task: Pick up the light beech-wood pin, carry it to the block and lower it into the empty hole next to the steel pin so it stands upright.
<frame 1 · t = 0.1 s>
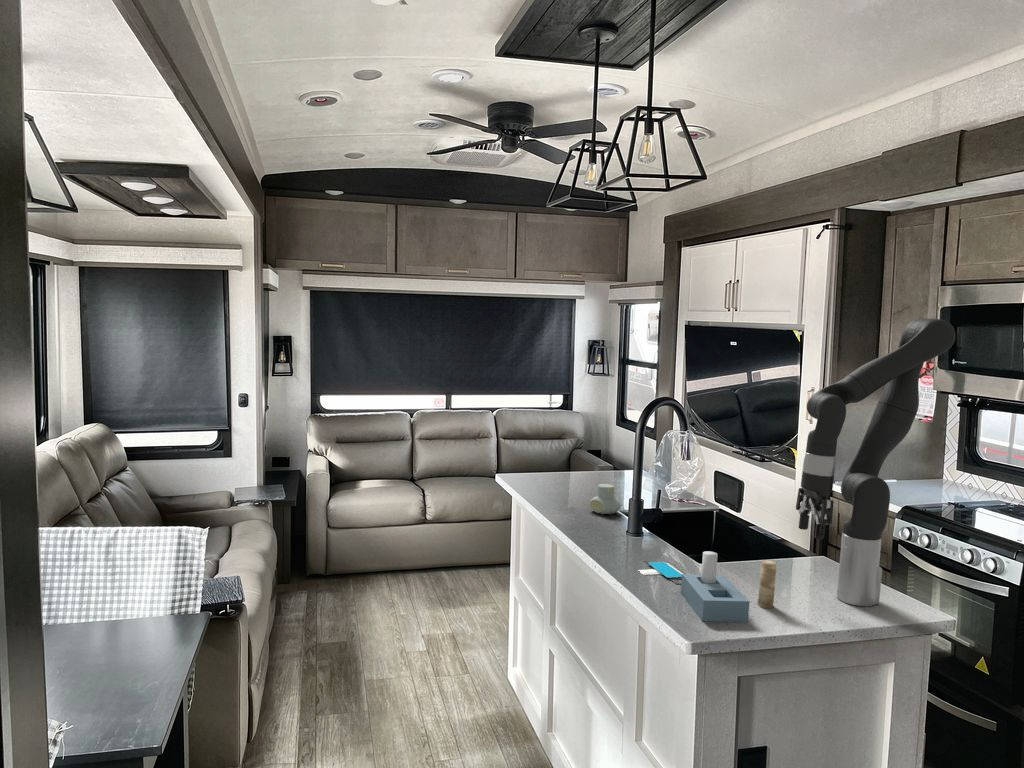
hand: (810, 533, 193), 17 cm above the counter, fingers open, 8 cm apart
bore block: (712, 606, 187), on the counter
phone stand: (659, 574, 211), on the counter
pale green pipe fitting: (604, 513, 272), on the counter
beech pin: (765, 605, 189), on the counter
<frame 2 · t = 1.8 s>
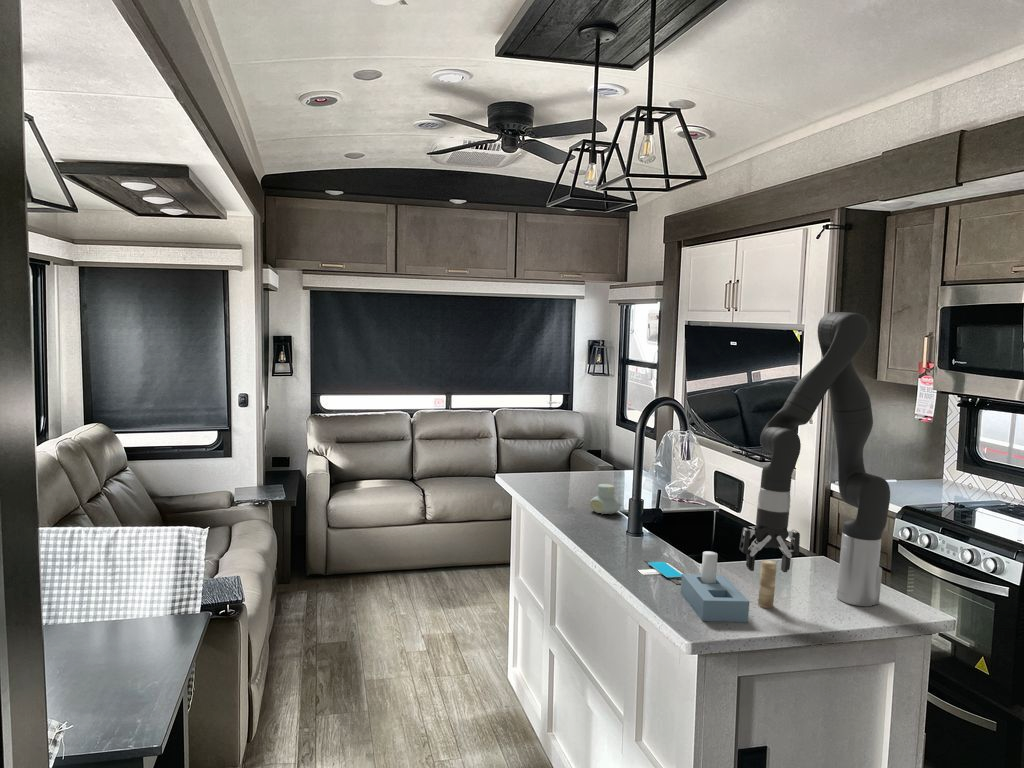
hand: (767, 570, 188), 9 cm above the counter, fingers open, 8 cm apart
nothing on the counter moved.
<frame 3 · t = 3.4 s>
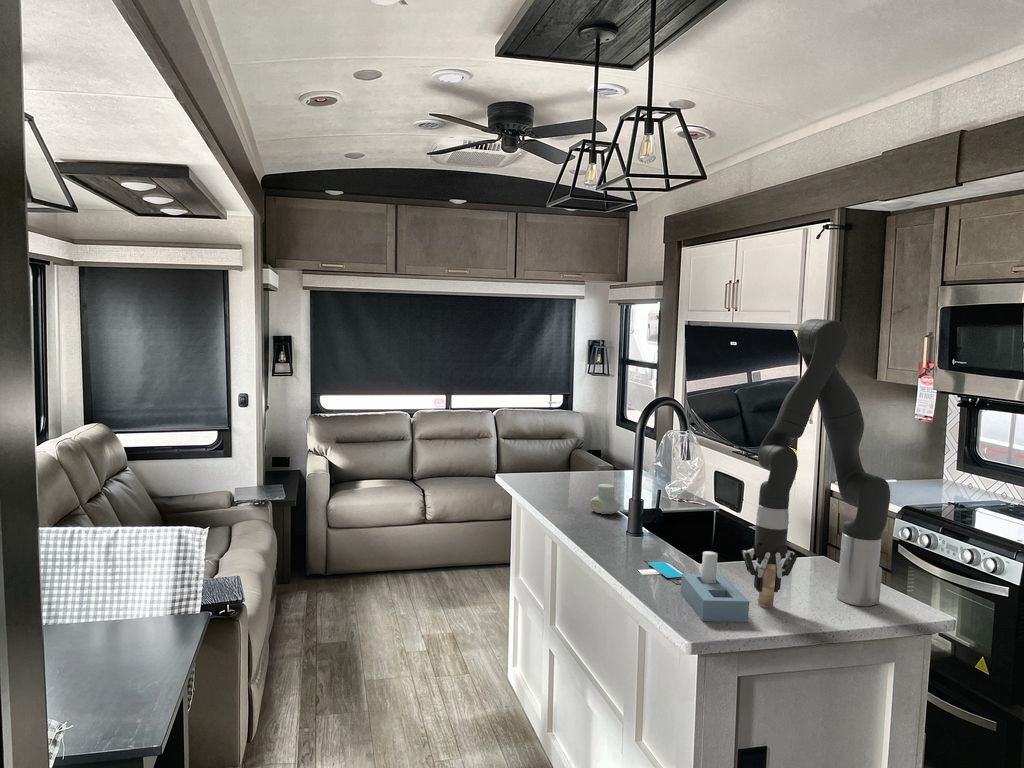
hand: (766, 590, 189), 4 cm above the counter, fingers closed on beech pin, 3 cm apart
beech pin: (765, 605, 189), on the counter, touching gripper
everything else where it was.
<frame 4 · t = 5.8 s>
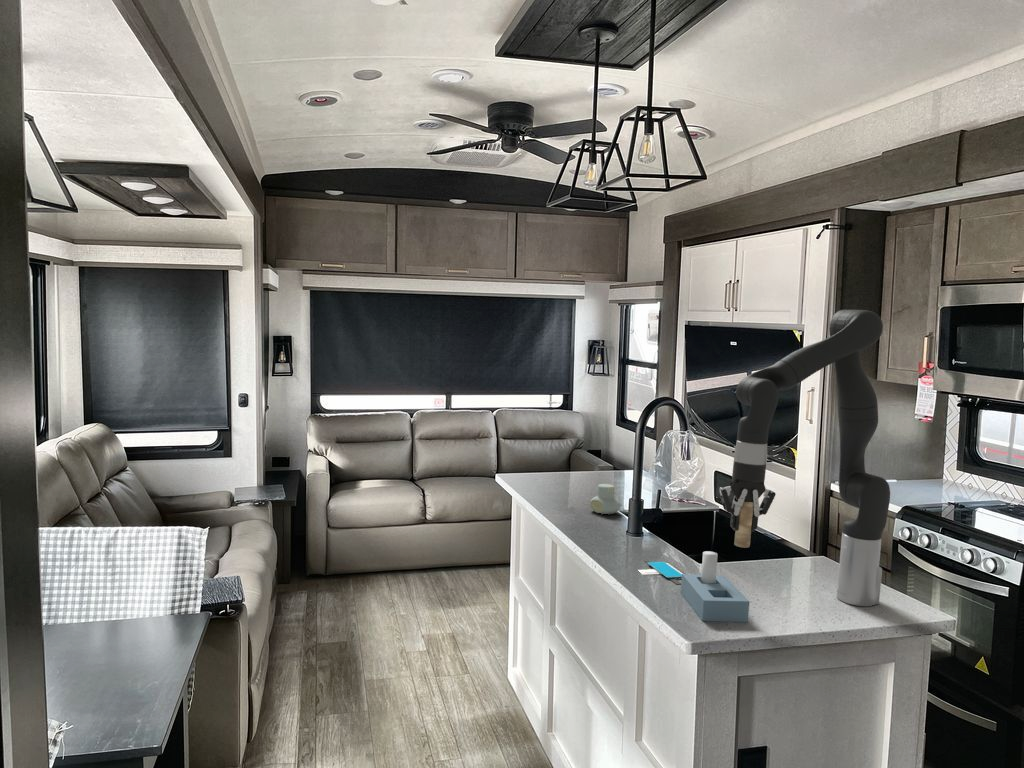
hand: (743, 529, 184), 20 cm above the counter, fingers closed on beech pin, 3 cm apart
beech pin: (741, 545, 184), point 16 cm above the counter, touching gripper
everything else where it was.
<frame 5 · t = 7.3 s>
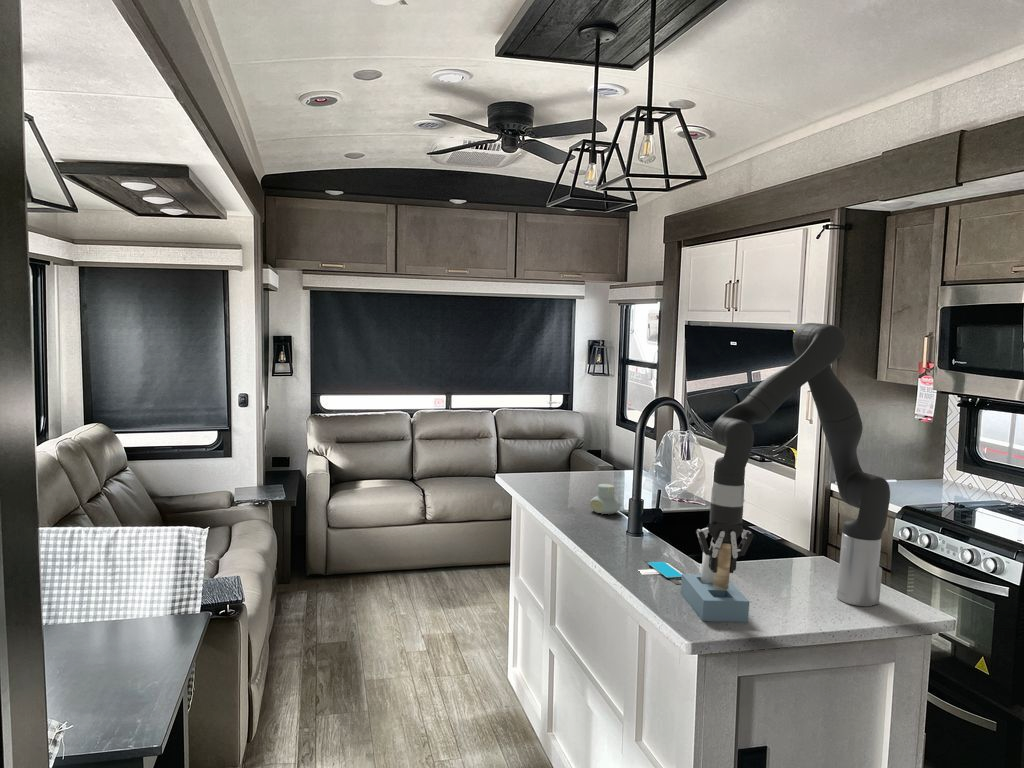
hand: (721, 571, 182), 11 cm above the counter, fingers closed on beech pin, 3 cm apart
beech pin: (720, 586, 182), point 7 cm above the counter, touching gripper
everything else where it was.
when the fingers open (6 cm above the counter, at t = 8.6 s): beech pin drops 1 cm, resting on bore block.
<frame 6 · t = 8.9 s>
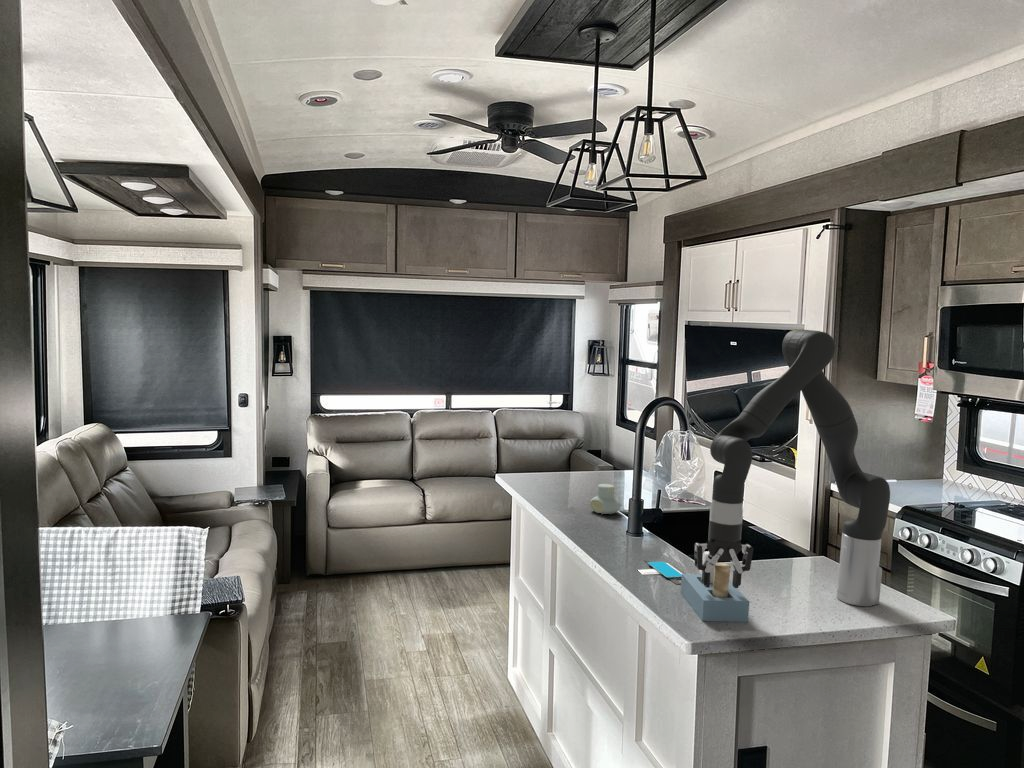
hand: (720, 586, 182), 7 cm above the counter, fingers open, 6 cm apart
beech pin: (718, 609, 182), point 1 cm above the counter, touching bore block
everything else where it was.
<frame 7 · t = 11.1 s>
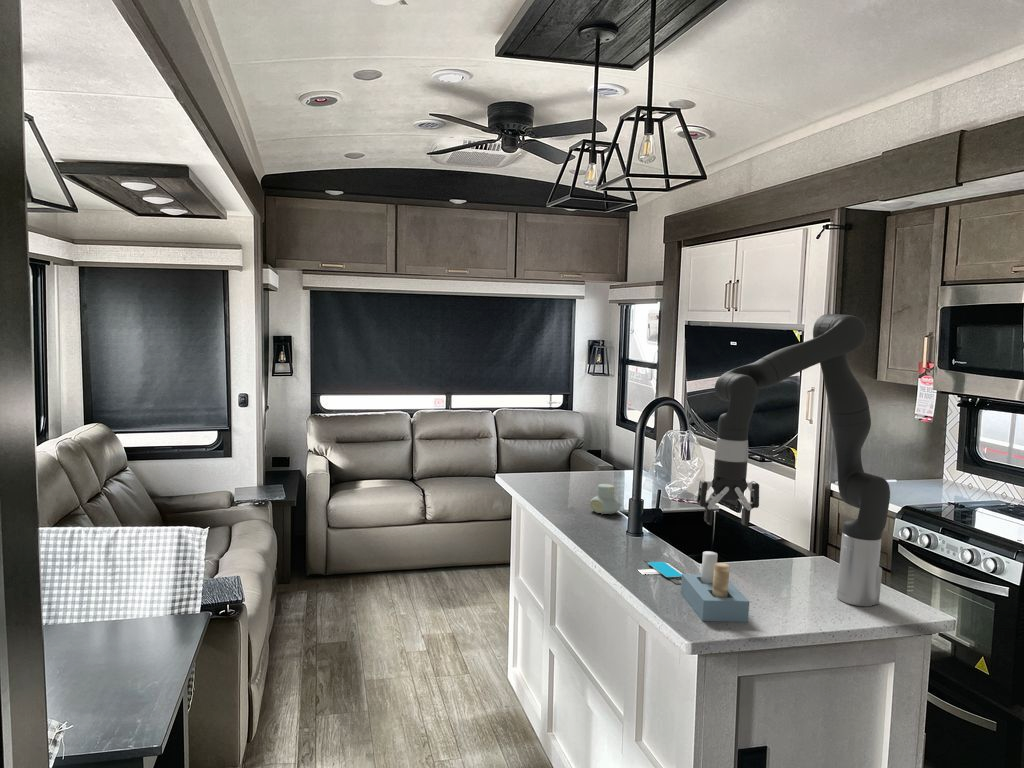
hand: (726, 524, 181), 22 cm above the counter, fingers open, 8 cm apart
nothing on the counter moved.
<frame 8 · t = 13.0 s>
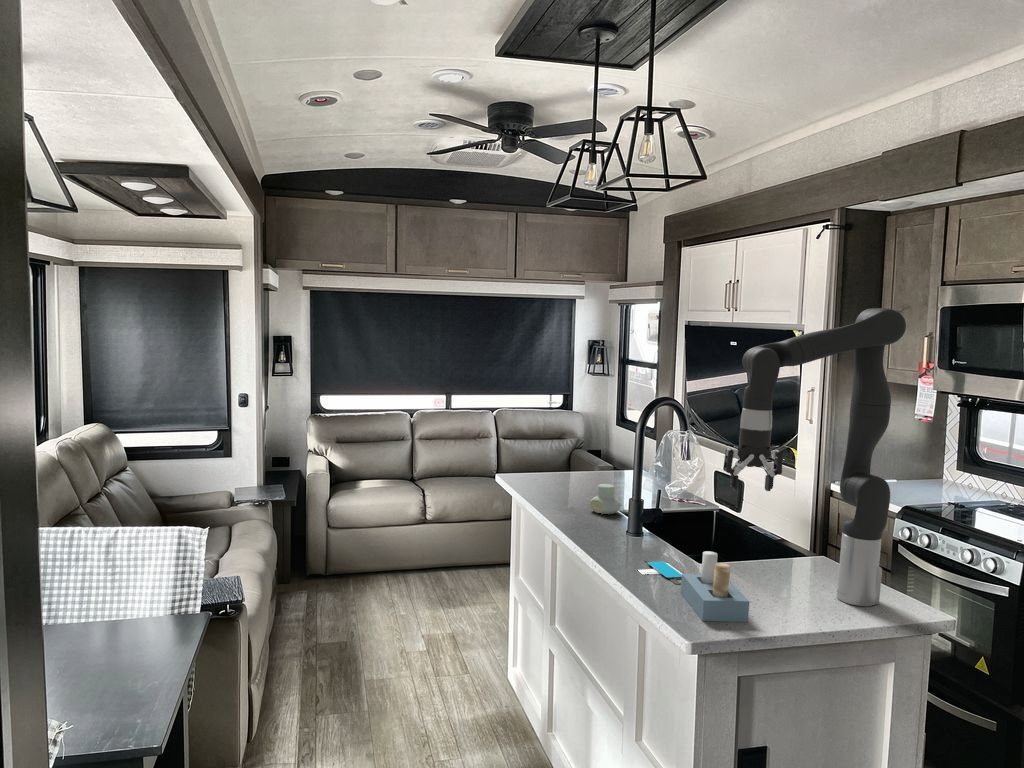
hand: (750, 490, 191), 28 cm above the counter, fingers open, 8 cm apart
nothing on the counter moved.
at the end: beech pin 0.1 cm from the target spot on the bore block, point 1.0 cm above the bore block's base; beech pin tilted 1°; the gripper is holding nothing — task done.
